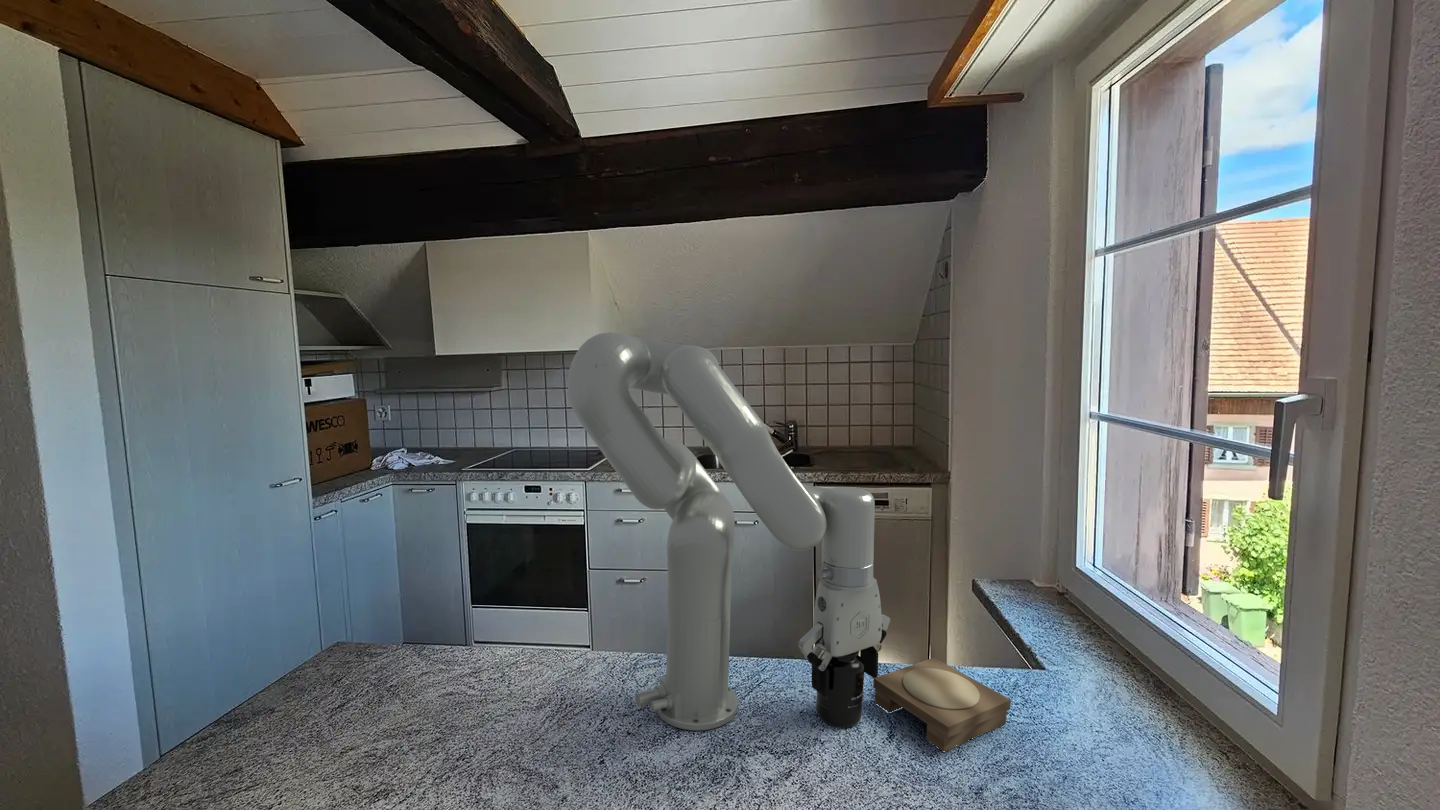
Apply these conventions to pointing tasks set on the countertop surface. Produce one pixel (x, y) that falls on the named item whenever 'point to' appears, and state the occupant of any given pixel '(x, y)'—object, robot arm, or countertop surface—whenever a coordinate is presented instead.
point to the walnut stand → (942, 701)
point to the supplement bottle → (843, 691)
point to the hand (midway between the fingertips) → (845, 682)
